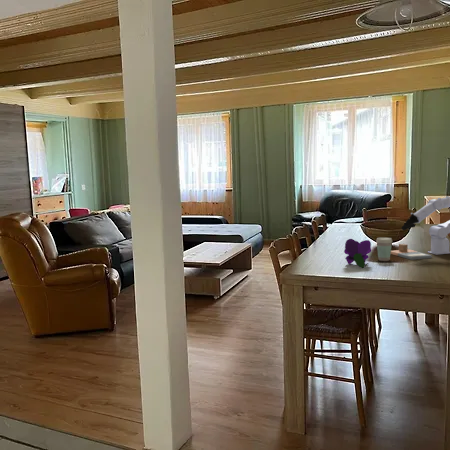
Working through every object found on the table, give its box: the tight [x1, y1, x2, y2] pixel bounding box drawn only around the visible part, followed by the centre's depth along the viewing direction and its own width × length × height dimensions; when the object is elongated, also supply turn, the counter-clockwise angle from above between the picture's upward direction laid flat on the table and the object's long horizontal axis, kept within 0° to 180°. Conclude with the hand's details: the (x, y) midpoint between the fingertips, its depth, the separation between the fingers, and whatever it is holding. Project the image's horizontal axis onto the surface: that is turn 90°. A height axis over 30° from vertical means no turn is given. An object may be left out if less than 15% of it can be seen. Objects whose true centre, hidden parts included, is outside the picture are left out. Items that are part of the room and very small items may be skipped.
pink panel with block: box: [390, 243, 418, 257], centre depth 270 cm, size 13×8×6 cm, turn 105°
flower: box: [343, 238, 372, 269], centre depth 241 cm, size 15×15×14 cm
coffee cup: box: [375, 236, 393, 262], centre depth 255 cm, size 8×8×12 cm
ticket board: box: [398, 251, 433, 261], centre depth 261 cm, size 13×12×2 cm
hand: (403, 227), depth 265 cm, fingers open, 7 cm apart
